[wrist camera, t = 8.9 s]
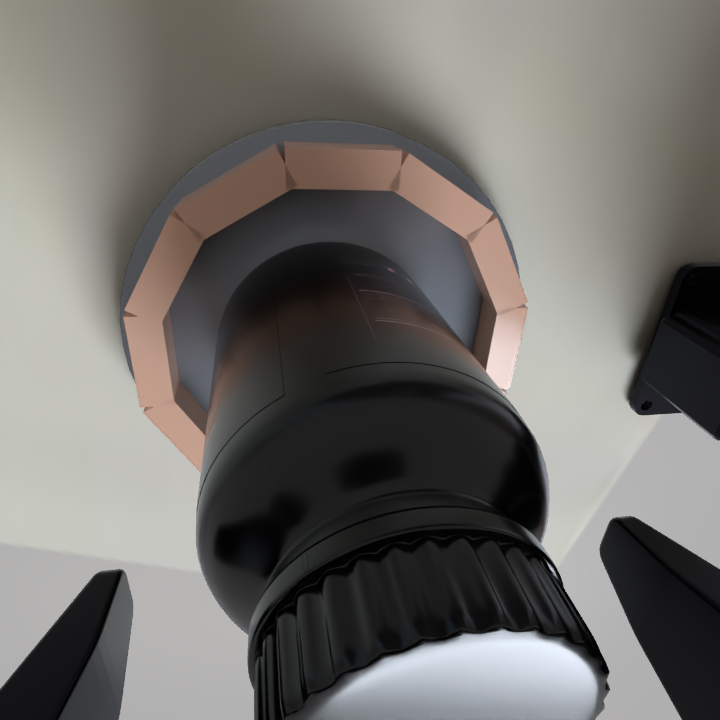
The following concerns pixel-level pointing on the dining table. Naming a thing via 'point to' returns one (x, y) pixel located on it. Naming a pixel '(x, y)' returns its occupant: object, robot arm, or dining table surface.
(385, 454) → the supplement bottle
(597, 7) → the dining table surface
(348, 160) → the bottle holder
